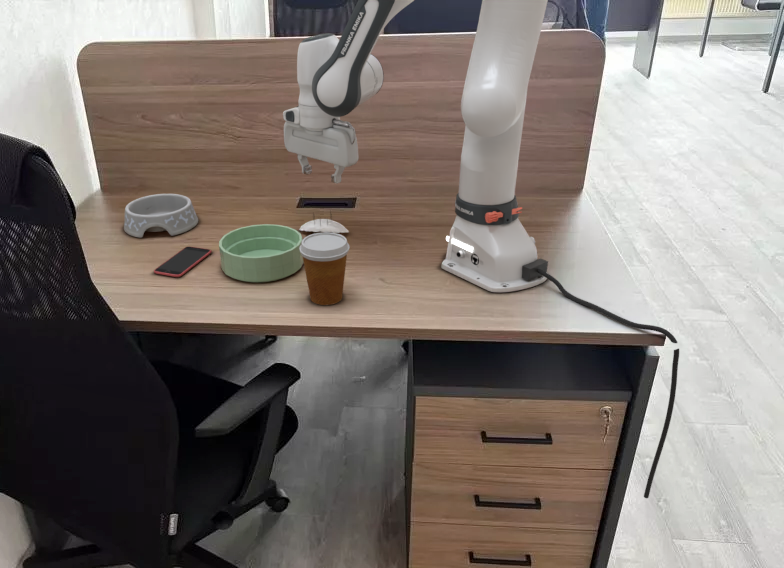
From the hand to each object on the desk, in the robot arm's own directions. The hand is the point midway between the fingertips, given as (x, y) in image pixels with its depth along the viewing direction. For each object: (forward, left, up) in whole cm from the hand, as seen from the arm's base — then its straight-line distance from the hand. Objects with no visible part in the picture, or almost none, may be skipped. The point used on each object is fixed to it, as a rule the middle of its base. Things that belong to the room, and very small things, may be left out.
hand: (321, 177), depth 163 cm
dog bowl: (+25, +33, -13) cm, 43 cm away
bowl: (-10, +19, -13) cm, 25 cm away
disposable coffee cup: (-30, +13, -13) cm, 35 cm away
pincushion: (0, 0, -13) cm, 13 cm away
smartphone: (0, +34, -13) cm, 36 cm away
